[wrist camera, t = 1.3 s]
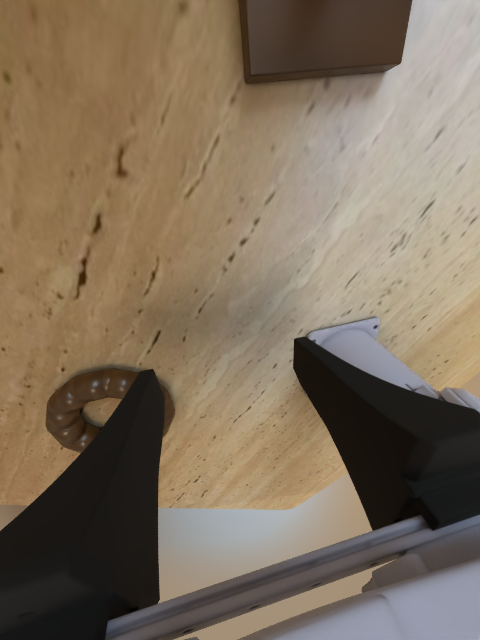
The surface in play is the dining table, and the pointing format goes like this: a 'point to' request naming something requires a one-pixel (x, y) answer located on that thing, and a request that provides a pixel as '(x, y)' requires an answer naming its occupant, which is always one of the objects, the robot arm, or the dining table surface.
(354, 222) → the dining table surface
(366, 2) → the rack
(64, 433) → the segmented ring
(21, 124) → the dining table surface
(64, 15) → the dining table surface
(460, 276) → the dining table surface
